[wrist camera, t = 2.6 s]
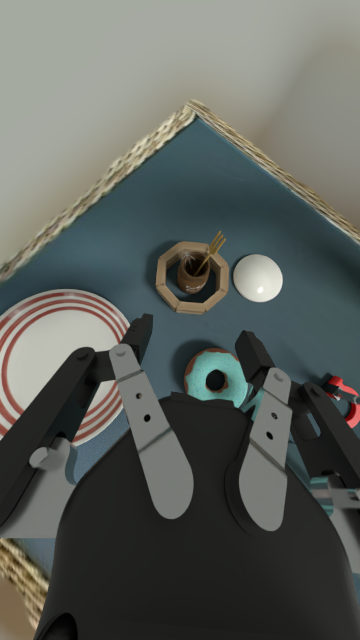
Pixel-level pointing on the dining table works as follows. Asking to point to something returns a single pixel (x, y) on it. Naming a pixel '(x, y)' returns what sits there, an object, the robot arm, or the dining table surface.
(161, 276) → the oak ring
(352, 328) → the dining table surface
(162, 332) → the dining table surface
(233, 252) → the dining table surface
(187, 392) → the donut
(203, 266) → the utensil holder
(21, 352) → the dinner plate
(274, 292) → the coaster
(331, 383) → the tow hook
